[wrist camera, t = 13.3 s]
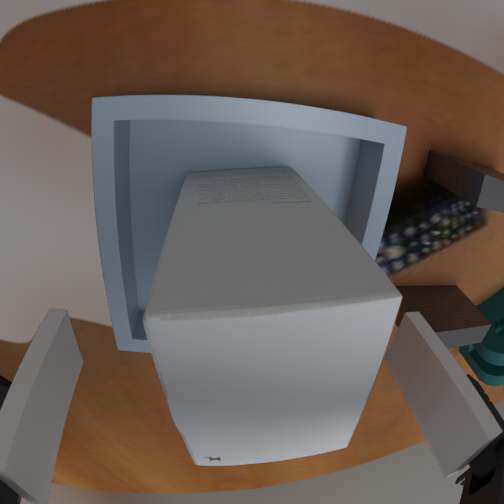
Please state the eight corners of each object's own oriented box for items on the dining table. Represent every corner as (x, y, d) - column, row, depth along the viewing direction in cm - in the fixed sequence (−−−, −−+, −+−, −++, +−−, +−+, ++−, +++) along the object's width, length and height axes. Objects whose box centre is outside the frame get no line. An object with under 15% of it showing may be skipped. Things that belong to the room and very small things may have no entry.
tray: (128, 313, 24) (117, 350, 20) (116, 95, 16) (92, 97, 13) (327, 319, 26) (342, 352, 22) (374, 118, 18) (406, 126, 15)
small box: (290, 279, 22) (349, 451, 11) (198, 286, 22) (192, 469, 10) (294, 163, 18) (410, 294, 7) (185, 169, 18) (131, 320, 6)
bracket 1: (384, 305, 26) (414, 354, 21) (430, 150, 19) (485, 174, 14) (449, 302, 27) (481, 342, 22) (495, 170, 21) (544, 195, 15)
